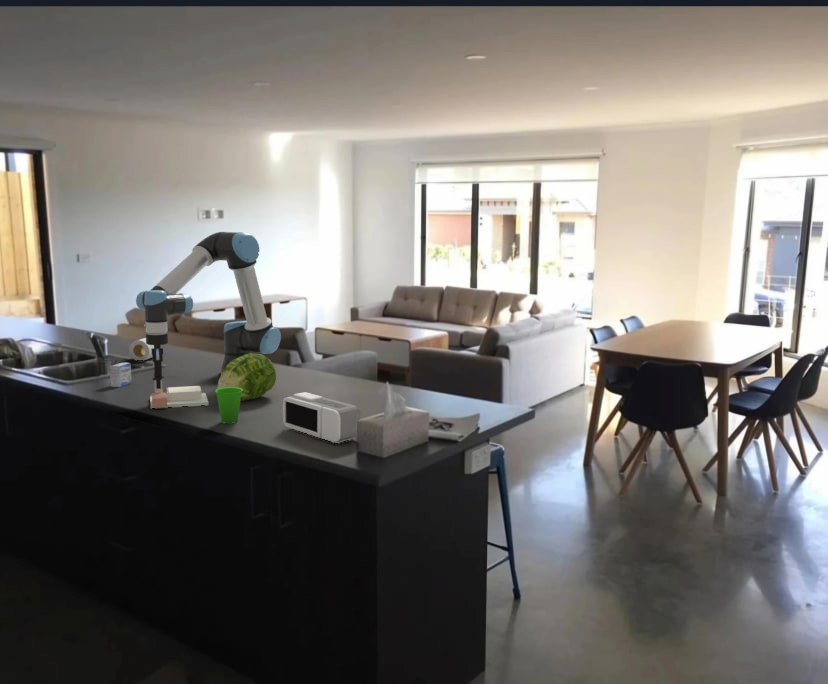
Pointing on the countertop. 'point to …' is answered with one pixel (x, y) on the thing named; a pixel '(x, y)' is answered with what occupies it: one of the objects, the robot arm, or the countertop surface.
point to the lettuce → (249, 375)
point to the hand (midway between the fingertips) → (158, 396)
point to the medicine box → (120, 374)
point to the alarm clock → (321, 416)
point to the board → (184, 402)
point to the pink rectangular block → (159, 399)
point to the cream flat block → (184, 393)
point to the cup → (229, 403)
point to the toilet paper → (141, 350)
